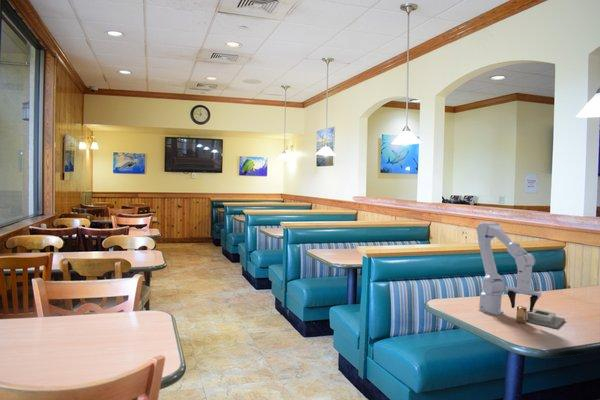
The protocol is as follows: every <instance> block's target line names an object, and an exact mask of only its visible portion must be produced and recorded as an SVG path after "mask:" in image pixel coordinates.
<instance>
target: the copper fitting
mask: <svg viewBox="0 0 600 400" xmlns="http://www.w3.org/2000/svg"><path fill="white" fill-rule="evenodd" d="M527 309H528V308H527V307H525V306H522V305H521V306H520V305H518V306H516V318H515V322H516V323H517V324H519V325H520V324H521V325H525V324H526V323H527V322H526V313H527V311H528V310H527Z"/></svg>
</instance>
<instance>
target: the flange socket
mask: <svg viewBox="0 0 600 400" xmlns="http://www.w3.org/2000/svg"><path fill="white" fill-rule="evenodd" d="M565 321H566V318H564V317H560V316H559V317H558V316H557V313H556V312H552V311H546V310H542V309H538V308H533V311H532V312H530V310H527V313H526V323H530V324H535V325H539V326H542V327H547V328H551V329H555V330H557V329H558V328H559V327H560V326H562V324H564V322H565Z"/></svg>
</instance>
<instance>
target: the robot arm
mask: <svg viewBox="0 0 600 400" xmlns="http://www.w3.org/2000/svg"><path fill="white" fill-rule="evenodd" d="M475 230H476V234H477V243H478V247H479V252H480V257H481V259H482V260H481V261H482V264H483V269H484V273H485V276H484V277H483V278H482V290H483V291H482V292H480V295H479V306H478V307H479V308H478V311H479V312H483V313H488V314H492V315H497V316H499V315H501V314H502V313H504V310H501V308H502V300H503V299H502V297H503V294H504V293H505V292H507V296H508V298H509V300H510V306H511V309H514V308H515V307H516V296H517V294H521V295H527V296H530V297H529V311H530V312H532V311H533V309H534V307H535V305H536V303H537V301H538V300H539V298H541V297H542V292H540V291H535V290H532V287H531V286H532V285H531V284H532V273H533V267H534V266H535V265H536V258H535V256H534V254H533V253H528V251H526V250H525V249H524V248H523V247H522V246H521V244H520V243H519V242H516V241H512V240H511V238H510V237H509V236H508V235H507V234H506V232H505V231H504V230H503V227H502V226H501V225H500V224H499V222H496V221H493V222H484V221H483V222H482V221H481V222H480V223H478V225H477V227H476V229H475ZM495 238H497V239H498V240H499V241H500V242H501V243H502V244H503V245H504V246H505V247H506V251H507V252H508V253H509V254H510V255H511V257H513V258H514V260H515V264H516V269H517V276H516V277H517V278H516V287H515V286H514V287H513V286H508V285H507V284H506V283H505V281H504V279H503V277H502V276H501V275H500V274H499V273H498V269H497V265H496V262H495V258H494V253H493V249H492V244H491V241H492V240H493V239H495Z"/></svg>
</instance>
